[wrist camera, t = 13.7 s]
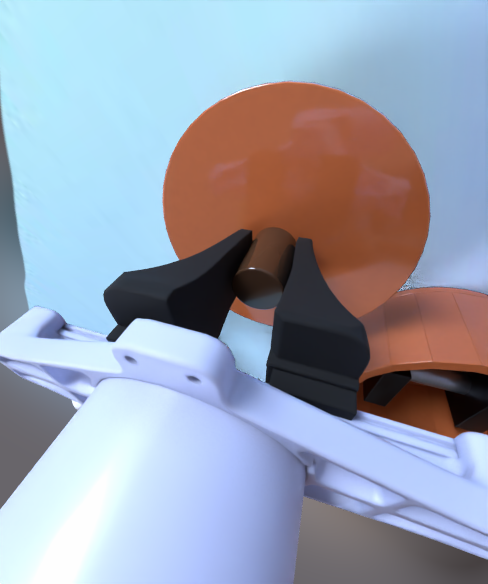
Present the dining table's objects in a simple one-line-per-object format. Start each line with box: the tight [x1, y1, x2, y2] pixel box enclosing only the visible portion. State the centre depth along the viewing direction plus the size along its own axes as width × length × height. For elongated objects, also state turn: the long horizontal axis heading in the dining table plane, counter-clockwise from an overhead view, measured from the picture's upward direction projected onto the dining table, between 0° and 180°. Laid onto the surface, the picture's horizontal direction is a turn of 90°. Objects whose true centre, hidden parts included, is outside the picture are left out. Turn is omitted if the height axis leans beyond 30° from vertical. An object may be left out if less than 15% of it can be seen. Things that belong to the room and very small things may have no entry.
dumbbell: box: [363, 369, 488, 433], centre depth 18 cm, size 8×5×5 cm, turn 91°
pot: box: [357, 287, 488, 439], centre depth 18 cm, size 12×12×6 cm
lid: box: [163, 81, 430, 326], centre depth 12 cm, size 13×13×5 cm
